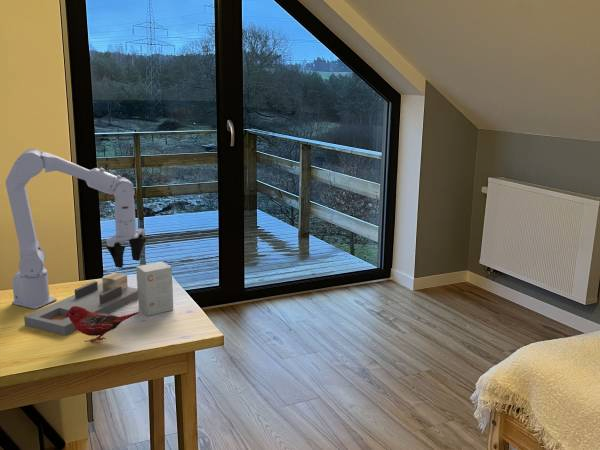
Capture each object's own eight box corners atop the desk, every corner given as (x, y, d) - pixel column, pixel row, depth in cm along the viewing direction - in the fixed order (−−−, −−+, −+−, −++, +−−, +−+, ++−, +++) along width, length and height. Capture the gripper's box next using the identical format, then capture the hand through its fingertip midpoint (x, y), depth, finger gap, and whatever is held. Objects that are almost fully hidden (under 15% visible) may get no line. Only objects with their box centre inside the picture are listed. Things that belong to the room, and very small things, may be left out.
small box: (164, 303, 171) (162, 260, 168) (174, 310, 166) (172, 266, 163) (137, 309, 166) (135, 265, 163) (146, 316, 161) (144, 271, 158)
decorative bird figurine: (66, 343, 144) (63, 305, 142) (139, 332, 151) (137, 296, 149) (66, 348, 142) (63, 309, 139) (141, 336, 149) (139, 300, 146)
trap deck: (24, 325, 154) (23, 307, 153) (104, 289, 181) (103, 274, 180) (65, 335, 149) (63, 317, 148) (141, 297, 175) (140, 281, 174)
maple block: (102, 289, 174) (102, 277, 173) (114, 284, 178) (113, 272, 177) (116, 292, 172) (115, 279, 171) (127, 287, 176) (126, 274, 175)
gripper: (119, 226, 164) (121, 272, 168) (151, 216, 177) (153, 259, 180) (99, 223, 167) (102, 268, 170) (133, 213, 180) (135, 255, 183)
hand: (127, 263), depth 176 cm, fingers open, 7 cm apart
